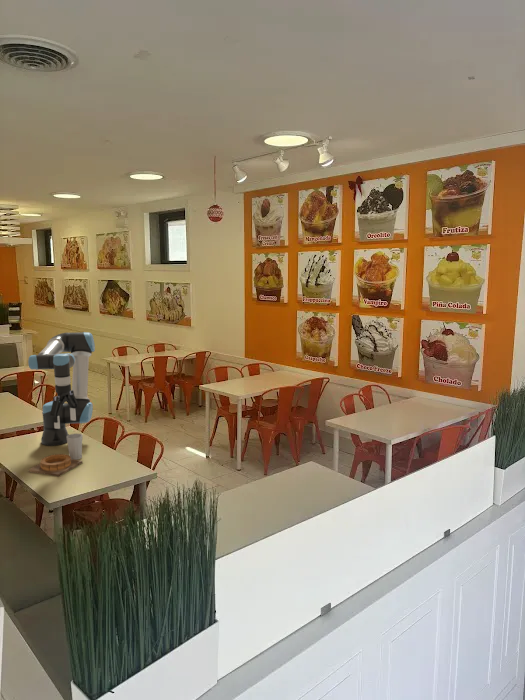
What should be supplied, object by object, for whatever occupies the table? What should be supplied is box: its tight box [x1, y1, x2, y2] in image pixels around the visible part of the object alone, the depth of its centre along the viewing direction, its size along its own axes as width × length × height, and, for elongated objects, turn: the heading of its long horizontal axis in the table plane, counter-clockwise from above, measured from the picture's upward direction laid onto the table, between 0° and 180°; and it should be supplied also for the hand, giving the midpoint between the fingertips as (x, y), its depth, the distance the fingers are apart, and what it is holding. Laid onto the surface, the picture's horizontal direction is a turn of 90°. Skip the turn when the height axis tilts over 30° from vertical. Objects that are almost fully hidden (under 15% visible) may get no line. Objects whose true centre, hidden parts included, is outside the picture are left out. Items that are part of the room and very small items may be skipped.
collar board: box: [28, 453, 83, 477], centre depth 266 cm, size 18×18×4 cm
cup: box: [66, 433, 83, 460], centre depth 278 cm, size 8×8×12 cm
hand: (65, 424), depth 273 cm, fingers open, 13 cm apart
